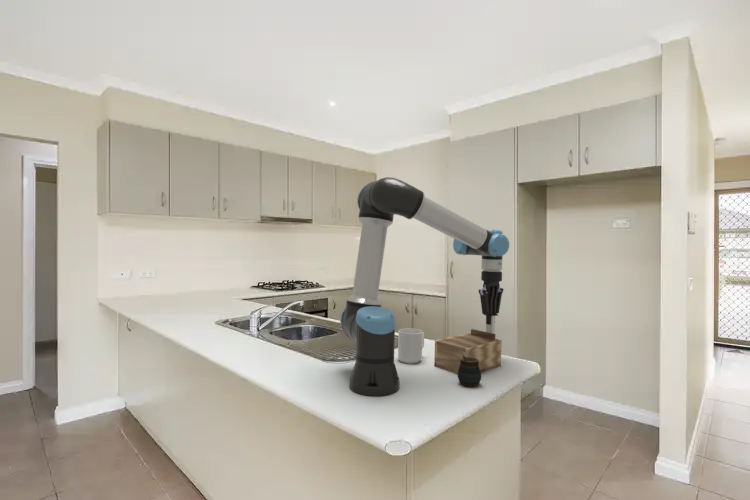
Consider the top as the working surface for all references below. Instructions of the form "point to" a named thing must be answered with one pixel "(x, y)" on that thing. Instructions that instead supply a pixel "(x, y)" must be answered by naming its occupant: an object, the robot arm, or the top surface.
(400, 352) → the mug
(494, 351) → the wooden box
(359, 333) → the robot arm
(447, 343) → the lid
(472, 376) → the mate gourd
